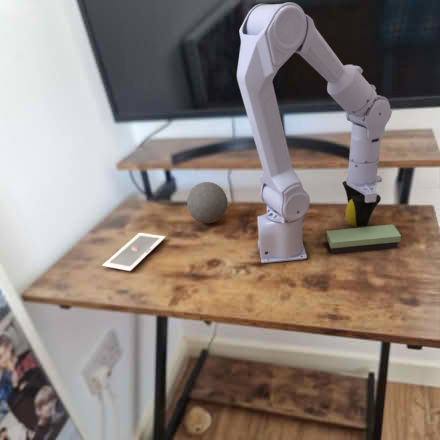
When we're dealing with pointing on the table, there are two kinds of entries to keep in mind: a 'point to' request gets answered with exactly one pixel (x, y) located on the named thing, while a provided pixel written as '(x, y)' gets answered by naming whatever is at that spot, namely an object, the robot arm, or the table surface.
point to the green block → (363, 238)
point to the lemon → (351, 214)
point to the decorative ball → (207, 202)
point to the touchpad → (134, 251)
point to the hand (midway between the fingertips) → (357, 218)
